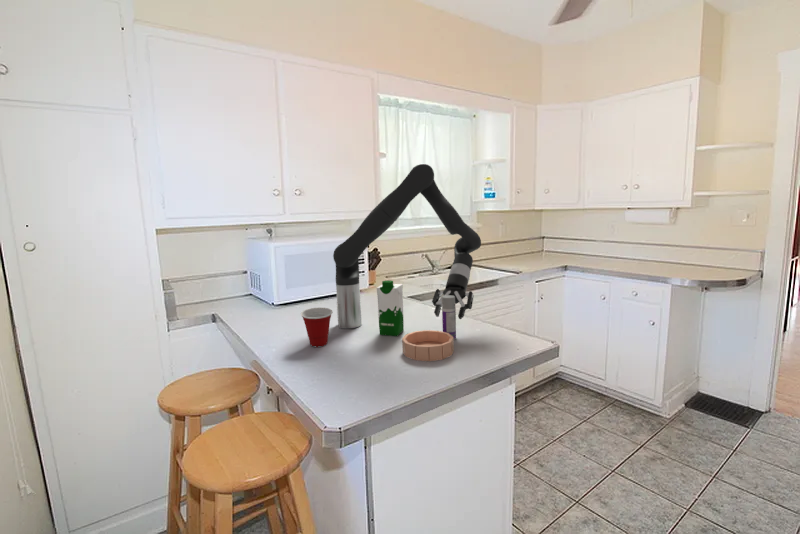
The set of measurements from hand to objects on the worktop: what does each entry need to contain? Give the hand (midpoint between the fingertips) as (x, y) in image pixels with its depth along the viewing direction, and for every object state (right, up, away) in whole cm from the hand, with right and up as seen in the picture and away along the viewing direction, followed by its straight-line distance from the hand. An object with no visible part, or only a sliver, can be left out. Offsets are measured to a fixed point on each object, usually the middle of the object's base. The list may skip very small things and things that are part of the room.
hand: (448, 316), depth 140 cm
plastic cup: (-45, -10, +1) cm, 46 cm away
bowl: (-8, -10, -10) cm, 16 cm away
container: (+1, -8, +2) cm, 8 cm away
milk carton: (-20, -7, +11) cm, 24 cm away
